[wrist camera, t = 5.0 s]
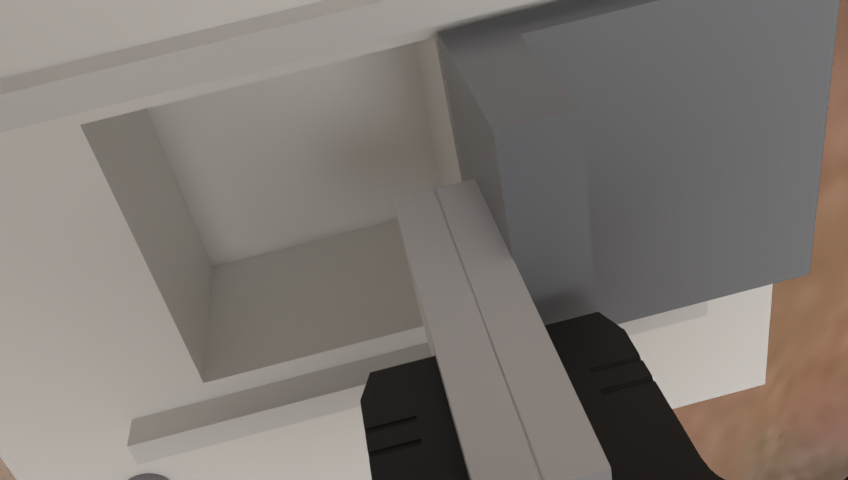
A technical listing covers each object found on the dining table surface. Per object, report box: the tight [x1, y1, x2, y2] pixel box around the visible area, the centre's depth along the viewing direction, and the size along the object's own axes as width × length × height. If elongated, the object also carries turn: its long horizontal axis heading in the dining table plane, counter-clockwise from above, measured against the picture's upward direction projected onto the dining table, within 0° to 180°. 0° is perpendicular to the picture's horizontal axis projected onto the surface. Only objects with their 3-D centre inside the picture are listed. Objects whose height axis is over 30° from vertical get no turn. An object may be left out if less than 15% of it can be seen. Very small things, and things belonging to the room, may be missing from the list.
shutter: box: [438, 0, 840, 325], centre depth 14 cm, size 7×7×4 cm
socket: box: [0, 0, 773, 480], centre depth 18 cm, size 16×18×6 cm
